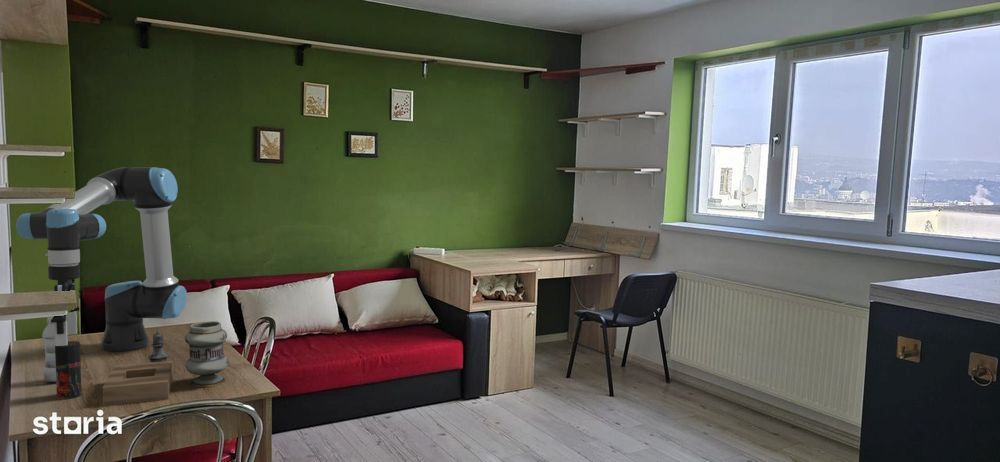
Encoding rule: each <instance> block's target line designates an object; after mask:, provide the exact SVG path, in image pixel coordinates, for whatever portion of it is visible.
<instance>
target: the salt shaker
mask: <svg viewBox="0 0 1000 462" xmlns="http://www.w3.org/2000/svg"><path fill="white" fill-rule="evenodd" d="M163 338H164V336H163V334H162V333H160V331H159V330H156V332H155V333H154V334H153V335H152V344H151V346H152V354H150V355H148V356H147V357H148V359H149V360H148V361H149V363H152V362H164V361H168V357H169V353H165V352H164V351H165V350H164V345H165V343H164V339H163Z"/></svg>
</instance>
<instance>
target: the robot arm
mask: <svg viewBox="0 0 1000 462" xmlns="http://www.w3.org/2000/svg"><path fill="white" fill-rule="evenodd" d="M178 190H179V189H178V183H177V180H176V177H175V176H174V174H173V173H172V172H171V170H169V169H167V168H163V167H162V168H161V167H155V166H153V167H150V166H146V167H139V166H138V167H135V166H134V167H133V166H132V167H131V166H123V167H117V168H113V169H110V170H107V171H105V172H102V173H100V174H98V175H96V176H94V177H93V178H91V179H89V180H88V182H86V185H85V186H83V187H82V188H80V189H78V190H76V191H74V192H75V198H74V199H66V201H65V202H64V203H61V204H55V203H53V204H52V205H50V206H47V207H46V208H45V209H43V210H41V211H39V212H36V213H35V212H29V213H27V212H26V213H22V214H20V215H19V216H18V218H17V219H16V223H15V228H16V232H17V234H18V236H20V237H21V238H23V239H27V240H28V239H29V240H47V252H46V253H45V254H44V255H45V257H48V258H47V264H49V265H48V267H47V271H48V273H47V275H48V277H47V278H48V279H49V280H51V281H57V284H54V286H53V289H54V290H53V291H70V290H75V291H76V282H75V281H76V280H77V279H79V278H80V277H81V265H80V262H81V250H80V242H81V241H89V240H91V241H93V240H95V239H99V238H101V237H102V236H103V235H104V234H105V232H106V231H107V223H106V221H105V219H104V218H103V217H102V215H100V214H97V213H91V212H93V211H94V210H95V209H97V208H99V207H100V206H102V205H103V206H105V205H110V204H111V203H113V202H120V201H122V202H133V204H134V206H133V207H134V209H136V210H137V211H138V212H139V213H140V214H139V215H140V225H141V234H142V246H143V247H142V248H143V254H144V255H143V256H144V267H145V276H146V277H145V280H144V281H143V282H142V281H141V280H129V281H124V282H123V281H122V282H118V283H113V284H110V285H108V286H107V287H106V288H105V290H104V292H105V293H104V303H105V307H104V308H105V330H104V332H103V336H102V338H101V342H100V349H101V350H103V351H106V352H107V351H108V352H127V351H134V350H139V349H143V348H144V347H147V346H149V344H150V338H149V335H148V333H147V330H146V328H145V324H144V319H163V320H166V319H176V318H178V317H180V316H181V314H182V313H183V312H184V309H185V307H186V304H187V298H188V297H187V295H188V293H187V289H186V288H185V287H184V286H183V285H180V284H179V279H178V278H177V277H176V276H174V269H173V266H174V265H173V256H172V248H171V247H172V244H171V235H170V234H171V233H170V226H169V223H170V221H169V213H168V212H169V211H168V210H170V208H171V207H172V206H173V202H175V200H176V199H177V197H178V192H179V191H178ZM77 312H80V307H79V305H78V306H77V308H75V309H74V310H71V311H70V312H69V313H68V314H67V315H64V316H54V317H53V318H52V319H51V323H55V346H64V345H68V343H67V342H68V339H67V335H68V336H70V335H78V326H77V325H78V320H77Z"/></svg>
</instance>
